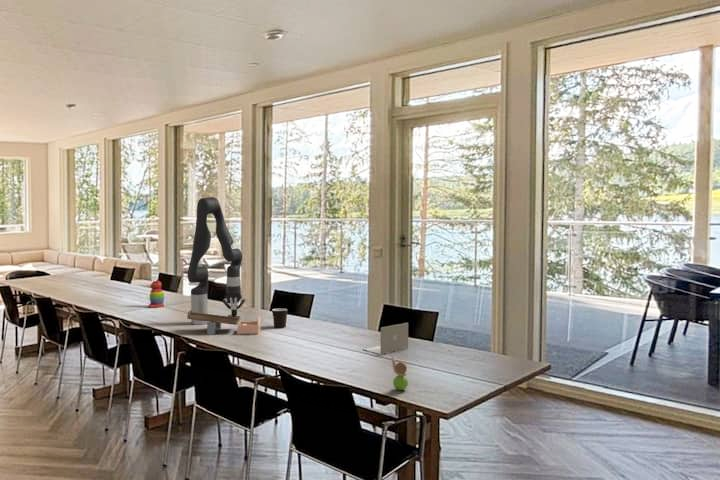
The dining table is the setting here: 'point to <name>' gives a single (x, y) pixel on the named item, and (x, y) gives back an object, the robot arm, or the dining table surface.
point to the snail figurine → (400, 375)
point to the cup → (249, 327)
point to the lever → (213, 318)
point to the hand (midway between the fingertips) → (234, 316)
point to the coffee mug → (279, 317)
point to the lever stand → (212, 327)
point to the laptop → (392, 339)
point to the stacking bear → (156, 295)
